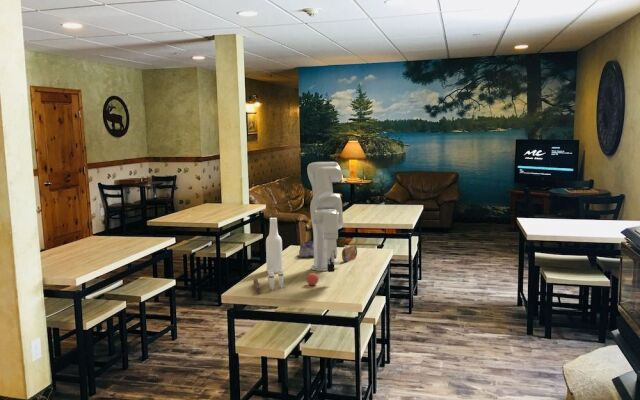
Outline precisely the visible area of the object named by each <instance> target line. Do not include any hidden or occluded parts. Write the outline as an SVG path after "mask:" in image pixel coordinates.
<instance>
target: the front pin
mask: <svg viewBox="0 0 640 400" xmlns="http://www.w3.org/2000/svg"><path fill="white" fill-rule="evenodd" d="M277 274H278V288H279V289H284V287H285V285H284V270H279V271H278V273H277Z"/></svg>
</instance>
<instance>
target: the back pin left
mask: <svg viewBox="0 0 640 400" xmlns="http://www.w3.org/2000/svg"><path fill="white" fill-rule="evenodd" d="M268 288H269V291H275V273H274V272H269V287H268Z"/></svg>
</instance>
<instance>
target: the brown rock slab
mask: <svg viewBox="0 0 640 400" xmlns="http://www.w3.org/2000/svg"><path fill="white" fill-rule="evenodd" d="M357 256H358V248H357V246H356V245H355V244H351V245H348V246H346V247H344V248H343V249H342V251H341V259H342V261H344V262H348V263H349V262H351V261H353V260H355V259H356V258H357Z"/></svg>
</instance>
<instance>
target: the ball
mask: <svg viewBox="0 0 640 400" xmlns="http://www.w3.org/2000/svg"><path fill="white" fill-rule="evenodd" d="M306 282H307V284H308V285H311V286H316V285H317V283H318V282H319V276H318V274H317V273H315V272H312V273H311V272H310V273H309V274H308V275H307V276H306Z"/></svg>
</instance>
